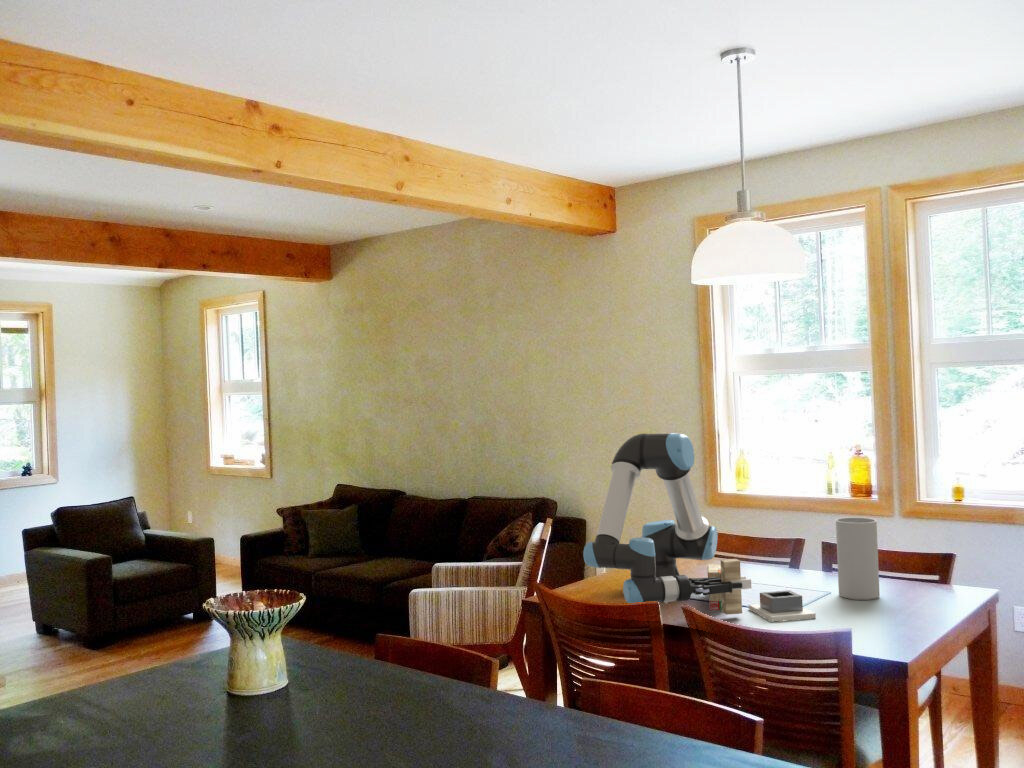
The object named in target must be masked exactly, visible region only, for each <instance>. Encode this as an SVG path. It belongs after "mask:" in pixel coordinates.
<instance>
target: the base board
mask: <svg viewBox="0 0 1024 768" xmlns="http://www.w3.org/2000/svg"><path fill="white" fill-rule="evenodd" d="M749 609H750V610H749ZM748 610H749V611H751V612H752V611H753V613H754V612H755V613H754V614H756V613H757V614H756V615H758V614H759V615H758V616H760V615H761V616H760V617H762V616H763V617H762V618H764V617H765V618H766V619H765V618H764V619H765V620H767V619H768V621H769V620H770V621H769V622H771V621H780V622H784V621H783V620H792V621H799V620H798V619H803V620H811V619H812V618H815V619H816V618H817V615H816V614H817V613H816V612H814V611H812V610H809V609H807V608H805V607H803V611H794V612H783V613H770V612H768V611H767V610H765V609H763V608H761V607H760V603H753V604H748ZM812 620H813V619H812Z"/></svg>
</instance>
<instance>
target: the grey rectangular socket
mask: <svg viewBox="0 0 1024 768" xmlns="http://www.w3.org/2000/svg"><path fill="white" fill-rule="evenodd" d="M759 604H760V607H761V608H763V609H765V610H767V611H768V612H770V613H783V612H794V611H803V608H804V607H803V605H804V604H803V595H801V594H800V593H796V592H794V591H792V590H789V589H788V590H778V591H767V592H765V591H764V592H759Z"/></svg>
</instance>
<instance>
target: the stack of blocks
mask: <svg viewBox="0 0 1024 768" xmlns="http://www.w3.org/2000/svg"><path fill="white" fill-rule="evenodd" d="M709 577H720V578H721V563H720V564H712V563H711V564H709V563H708V564H707V578H709ZM708 602H709V611H723V610H722V593H718V594H710V595H708Z"/></svg>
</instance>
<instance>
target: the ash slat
mask: <svg viewBox="0 0 1024 768" xmlns="http://www.w3.org/2000/svg"><path fill="white" fill-rule="evenodd" d="M720 564H721V582H729V581H731V580H741V577H742V576H741V575H742V574H741V560H740V559H737V558H728V559H720ZM721 611H722V613H724V614H725V615H728V616H729V615H736V614H743V602H742V589H738V590H732V593H730V592H727V593H722V610H721Z"/></svg>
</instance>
